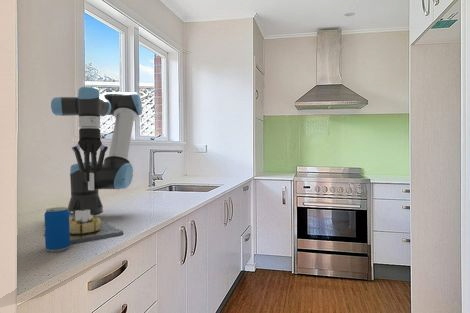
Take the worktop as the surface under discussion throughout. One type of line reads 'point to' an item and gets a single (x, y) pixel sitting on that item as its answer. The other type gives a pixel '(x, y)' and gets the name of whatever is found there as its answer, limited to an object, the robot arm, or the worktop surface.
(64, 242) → the beverage can
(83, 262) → the worktop surface
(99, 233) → the base plate
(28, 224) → the worktop surface
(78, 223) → the grey lever
